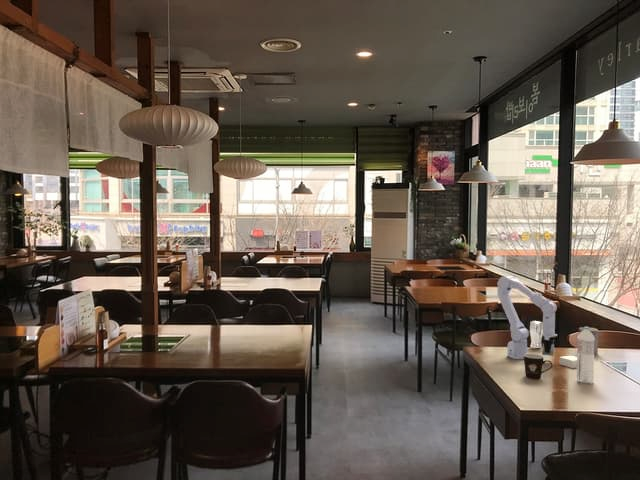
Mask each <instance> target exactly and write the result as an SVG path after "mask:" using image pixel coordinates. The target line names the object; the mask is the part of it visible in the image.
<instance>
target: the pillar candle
mask: <svg viewBox="0 0 640 480" xmlns="http://www.w3.org/2000/svg"><path fill="white" fill-rule="evenodd" d="M584 327H585V326H584ZM584 327H583V326H582V327H581V326H580V327H579V328H578V334H579V333H580V332H582V331H583V330H584ZM587 327H589V329H588V331H590V332H591V333H592V334H593V335H594V337H595V340H594V356H596V354H597V355H598V353H599V352H598V351H599V349H598V348H599V330H598V329H597V328H595V327H590V326H587Z"/></svg>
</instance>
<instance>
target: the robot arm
mask: <svg viewBox="0 0 640 480" xmlns="http://www.w3.org/2000/svg"><path fill="white" fill-rule="evenodd" d="M513 289H515V290H516V289H517V290H518V291H520V292H521V293H522V294H524V295H525V296H527V297H529V300H530V302H531V303H533V304H534V305H535V306H537V307H538V308H539V309H540V310H541V311H542V322H543V333H542V338H541V343H542V345H543V344H544V349H545V352H546V353H550V350H551V345H552V344H554V341H555V339H556V337H558V334H557V333H555V332H556V331H555V329H556V312H557V310H558V309H557V308H558V306H557V304H556V303H555V302H554V301H553V300H552V301H550V299H548V298H546V297H544V296H543V294H542V293H541V292H534V291H532V290H531V289H530V288H529V287H527V285H525V284H524V283H522V282H521V281H520V280H519V279H518V278H516V277H514V276H513V275H506V276H501V277H500V278H499V279H498V281H497V296H498V298H499V299H498V300H499V302H500V304H501V306H502V309H503V311H504V313H505V315H506V317H507V320H508V322H509V324H510V327H509V330H510V337H511V340H510V341H508V342H507V346H506V347H507V348H506V349H507V352H506V355H507V356H506V357H508V356H509V357H508V358H511V359H514V360H524V355H525V354H528V340H527V339H528V338H529V336H530V331H529V330H528V329H527V328H526V327H525V325H524V323H523V322H522V321H521V320H520V318H519V316H518V313H517V311H516V309H515V307H514V303H513V301H512V300H511V297H510V292H511V290H513Z"/></svg>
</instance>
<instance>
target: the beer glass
mask: <svg viewBox="0 0 640 480" xmlns="http://www.w3.org/2000/svg"><path fill="white" fill-rule="evenodd" d="M529 323H530V324H529V336H530V341H531V342H530V348H531V349H535V348H541V349H542V338H543V335H542V333H543V321H539V320H537V321H536V320H532V321H530V322H529Z"/></svg>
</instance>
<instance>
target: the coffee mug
mask: <svg viewBox="0 0 640 480" xmlns="http://www.w3.org/2000/svg"><path fill="white" fill-rule="evenodd" d="M544 358H545V357H544V355H542V354H541V355H540V354H537V353H536V354H534V353H527V354H525V355H524V359H523V360H524V361H523V362H524V363H523V364H524V371H525V372H524V373H525V378H527V379H529V380H536V381H537V380H541V378H542V375H543V373H545V372H547V371H549V370H551V369H552V368H553V362H552V361H551V360H548V359H547V360H544ZM547 362H548V363H550V366H549V368H546V369H544V370H543V365H544V364H545V363H547Z"/></svg>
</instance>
